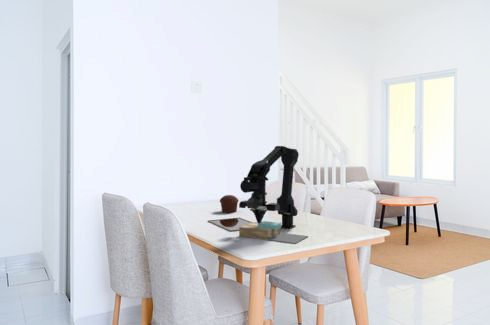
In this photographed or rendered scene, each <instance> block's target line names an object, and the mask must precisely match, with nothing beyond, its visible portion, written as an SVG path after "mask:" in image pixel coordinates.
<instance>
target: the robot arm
mask: <svg viewBox="0 0 490 325" xmlns="http://www.w3.org/2000/svg"><path fill="white" fill-rule="evenodd" d="M299 155H300V154H299V151H298V150H297V149H296V148H290V147H286V146H285V145H276V146H274V149H272V150H271V151H270V152H269V153H268V154H267V155H266V156H265V157H264V158H263V159H260V160H258V161H256V162H254V163H252V165H251V166H250V169H249V172H248V173H247V176H246V177H243V180H242V181H241V182H240V190H241V191H242V192H243V193H245V194H246V193H251V192H252V193H251V194H250V195H251V197H249V198H248V199H247V200H242V201H239V202H238V203H239V204H238V208H239V209H246V208H247V209H249V211H251V212H252V213H253V215H254V216H255V220H256V223H260V222H263V218H264V216H265V214H266V213H267V212H270V211H271V212H276V211H277V215H281V228H282V229H284V228H285V229H292V228H294V227H295V228H296V226H297V225H295V224H294V217H296V216H298V212H299V211H298V209H297V208H296V206H295V200H294V198H293V196H292V192H293V178H294V168H295V166H296V164H297V162H298V159H299ZM280 158H281V159H280ZM279 159H280V160H281V163H282V165H283V173H282V183H281V194H280V196H278V197H277V198H276V202H271V203H268V202H267V201H266V196H267V195H268V194H267V192H266V187H267V185H266V183H267V182H266V181H269V178H268V176H267V175H268V174H269V173H270V171H271V167H272V166H273V165H274V164H275V163H276V162H277V161H278V160H279Z"/></svg>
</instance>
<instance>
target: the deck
mask: <svg viewBox="0 0 490 325" xmlns="http://www.w3.org/2000/svg"><path fill="white" fill-rule="evenodd" d="M252 222H253V221H252ZM238 233H239V234H238V236H239V237H242V238H249V239H251V238H252V239H256V240H257V239H259V240H266V241H268V240H267V239H269V238H271V237H273V236H276V235H278V234H280V233H281V228H278V229H276V230H274V229H265V228H258V223H257V221H256V222H253V223H250V224H248V225H245V226H242V227H239V231H238Z"/></svg>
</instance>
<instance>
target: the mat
mask: <svg viewBox="0 0 490 325" xmlns="http://www.w3.org/2000/svg"><path fill="white" fill-rule="evenodd" d="M307 238H309V235H302V234H295V233H294V234H293V233H287V232H280V234H278V235H276V236H273V237H271V238H269V239H267V240H266V241H270V242H279V243H286V244H293V245H296V244H298V243H300V242H302V241H304V240H305V239H307Z"/></svg>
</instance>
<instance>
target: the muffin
mask: <svg viewBox="0 0 490 325" xmlns="http://www.w3.org/2000/svg"><path fill="white" fill-rule="evenodd" d="M219 203H220V206H221V212H222V213H224V212H225V213H224V214H233V213H237V210H238V205H239V204H238V203H239V199H238V198H237V197H236V196H235V195H231V194H226V195H223V196H222V197H221V198H220V199H219Z"/></svg>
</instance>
